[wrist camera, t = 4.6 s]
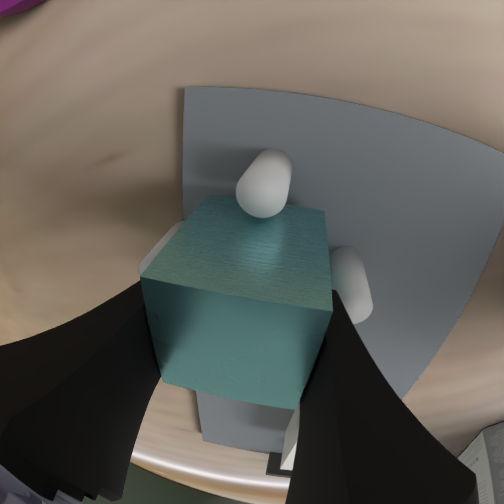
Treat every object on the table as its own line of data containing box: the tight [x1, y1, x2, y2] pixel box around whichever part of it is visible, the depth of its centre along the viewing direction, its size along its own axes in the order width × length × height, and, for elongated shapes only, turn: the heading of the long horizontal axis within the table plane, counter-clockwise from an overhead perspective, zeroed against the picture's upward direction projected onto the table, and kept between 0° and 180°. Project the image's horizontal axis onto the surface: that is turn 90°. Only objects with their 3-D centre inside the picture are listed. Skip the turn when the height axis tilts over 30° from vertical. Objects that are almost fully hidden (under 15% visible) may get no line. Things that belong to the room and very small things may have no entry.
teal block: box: [140, 194, 333, 410], centre depth 9 cm, size 4×4×5 cm
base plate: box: [139, 87, 504, 478], centre depth 15 cm, size 15×28×4 cm, turn 175°
